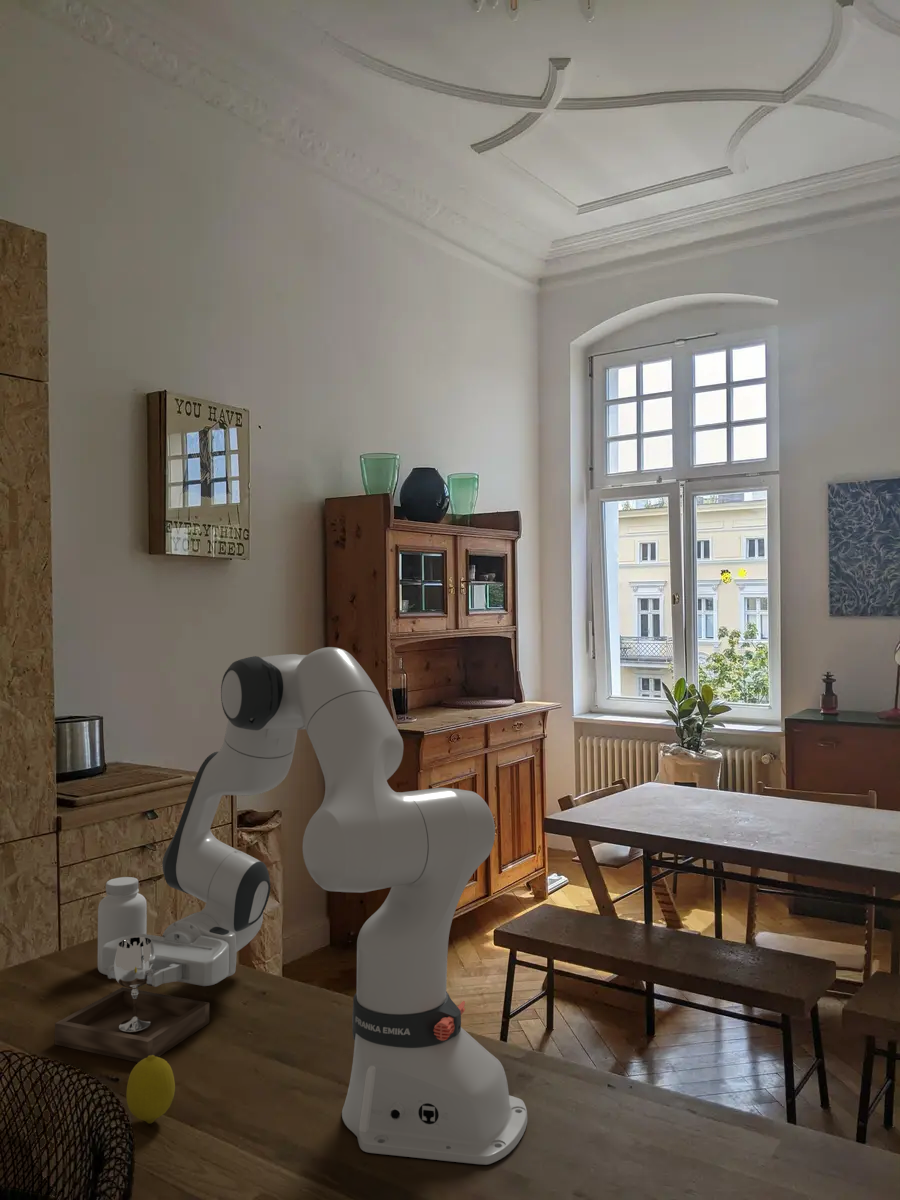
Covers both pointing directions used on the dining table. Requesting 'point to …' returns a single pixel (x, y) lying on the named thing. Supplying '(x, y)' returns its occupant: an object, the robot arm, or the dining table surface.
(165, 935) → the robot arm
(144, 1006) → the tray
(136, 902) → the pill bottle
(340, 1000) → the dining table surface
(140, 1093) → the lemon
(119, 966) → the wineglass
